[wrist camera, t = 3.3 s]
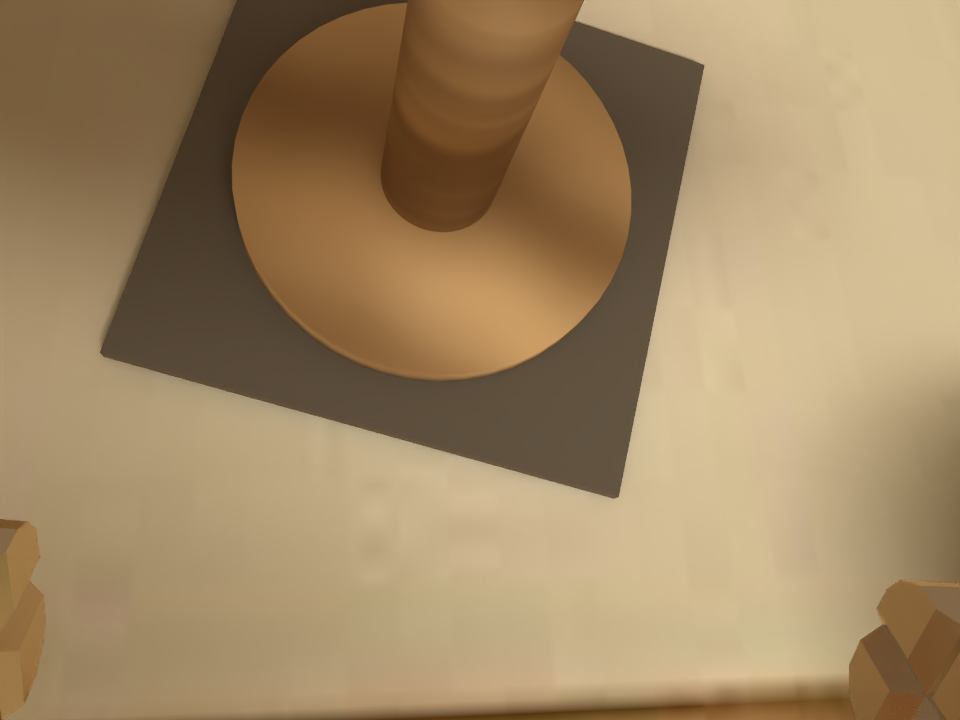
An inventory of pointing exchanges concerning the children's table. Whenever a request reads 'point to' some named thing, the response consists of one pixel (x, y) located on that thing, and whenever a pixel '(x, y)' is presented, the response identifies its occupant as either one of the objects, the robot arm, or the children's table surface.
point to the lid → (433, 186)
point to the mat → (385, 398)
